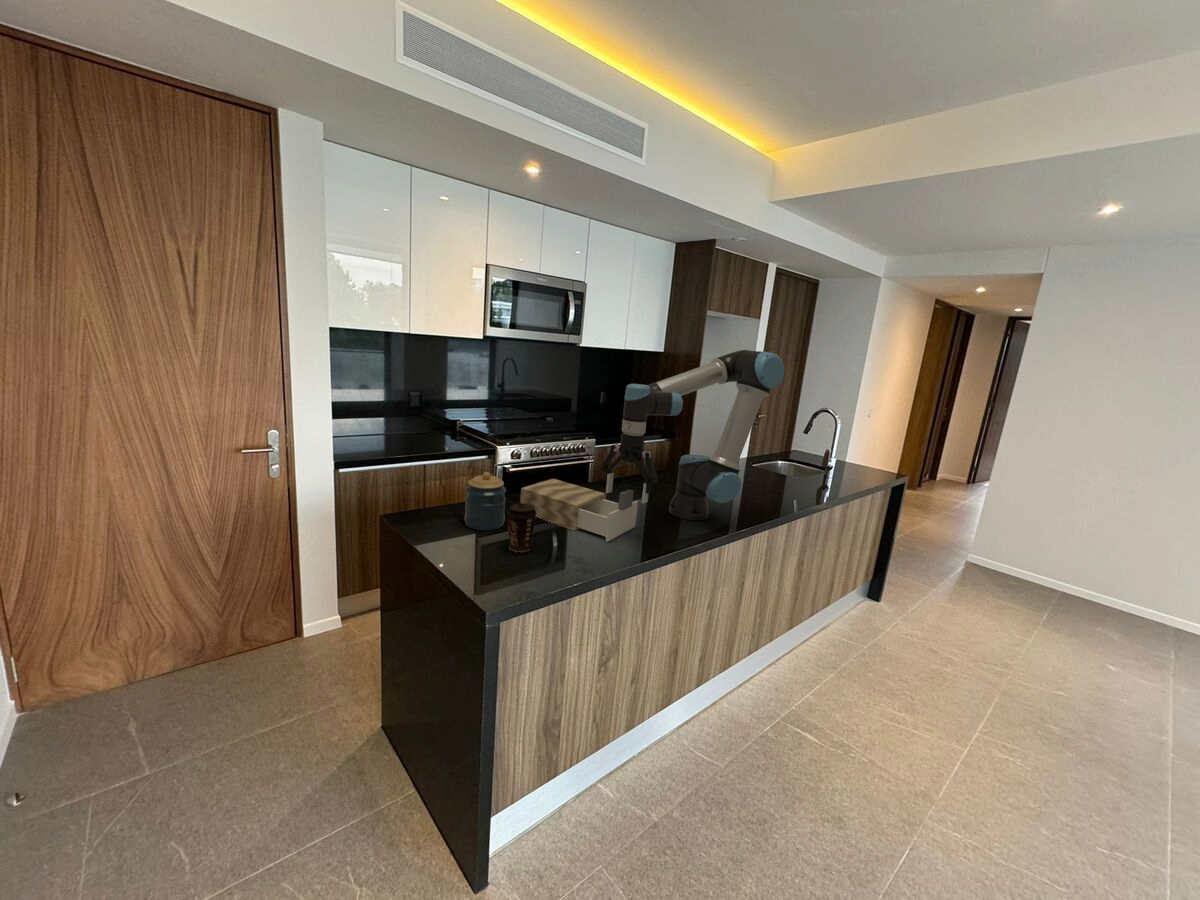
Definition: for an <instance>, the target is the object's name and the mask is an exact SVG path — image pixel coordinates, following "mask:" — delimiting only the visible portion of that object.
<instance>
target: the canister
mask: <svg viewBox="0 0 1200 900" xmlns="http://www.w3.org/2000/svg"><path fill="white" fill-rule="evenodd" d="M467 483H468V485H467V486H466V487H465V488H464V489H465V490H464V491H465V492H466V496H465V497H464V501H465V504H464V506H465V508H464V510H465V512H464V523H465V526H466V527H468V528H470V529H473V530H478V531H492V530H497V529H499V528H502V527H503V526H504V524H505V520H506V516H505V513H506V512H505V510H506V501H507V500H506V497H505V494H506V492H507V489H506V487H504V484H505V483H504V481H503V480H502V479H500V478H499V477H498V476H495V475H491V473H490V472H489V471H484V472H483V473H482V475H477V476H474V477H473V478H471V479H469V480H468V482H467Z"/></svg>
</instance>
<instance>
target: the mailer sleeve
mask: <svg viewBox="0 0 1200 900" xmlns="http://www.w3.org/2000/svg"><path fill="white" fill-rule="evenodd" d="M606 497H607V493H606V492H601V491H597V490H594V489H591V488H588V487H584V486H580V485H577V484H573V483H569V482H566V481H564V480H563V481H562V480H560V479H557V478H549V479H546V480H543V481H540V482H537V483H534V484H531V485H526V486H524V487H521V488H520V501H519V503H522V504H523V503H525V504H529V505H532V506H534V509H535V511H536V517H538V518H540V519H543V520H545V521H544V522H546V521H548V522H547V523H549V522H551V523H550V524H552V523H553V524H552V525H555V524H556V526H557V527H561V528H563V527H564V529H566V528H567V530H569V529H570V531H572V530H573V531H572V532H576V531H578V530H579V529H581V528H578V527H576V525H577V513H578V507H580V506H582V505H584V504H587V503H589V502H592V501H594V500H597V499H599V498H602V499H605V500H606ZM538 518H537V519H538ZM540 519H539V520H540ZM543 520H542V521H543ZM575 530H576V531H575Z"/></svg>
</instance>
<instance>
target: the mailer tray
mask: <svg viewBox="0 0 1200 900" xmlns="http://www.w3.org/2000/svg"><path fill="white" fill-rule="evenodd" d="M633 499H634V490H633V489H626V490H624V491H622V492H619V497H618V502H616V501H611V500H608V499H606V498H605V499H602V498H599V499H597V500H594V501H592V502H589V503H587V504H584V505H582V506H580V507H578V513H577V525H576V527H578V528H580V529H581V530H585V531H588V532H591V533H594V534H597V535H600V536H602V537H605V540H604V541H605V542H607V543H608V542H609V541H612V540H614V539H616V538H617V537H619V536H621V535H623V534H624V533H626V532H628V531H630V530H632V529H633V528H635V527H636V523H637V515H638V514H637V512H638V505H639V501H638V500H634V501H633Z"/></svg>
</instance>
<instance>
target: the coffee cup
mask: <svg viewBox="0 0 1200 900" xmlns="http://www.w3.org/2000/svg"><path fill="white" fill-rule="evenodd" d="M506 516H507V522H508V523H507V529H508V530H507V531H508V537H509V541H510V542H509V543H510V544H509V546H508V549H509V550H510V551H512V552H513V551H514V552H513V553H518V552H520V553H526V552H529V551H530V550H531V549H532V541H533V537H534V532H535V523H536V521H535V520H536V519H537V518H536V511H535V509H534V506H532V505H529V504H525V503H523V504H522V503H520V502H519V503H517V502H516V503H514V504H511V505H510V506H509V508H508V509H507V511H506Z"/></svg>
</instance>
